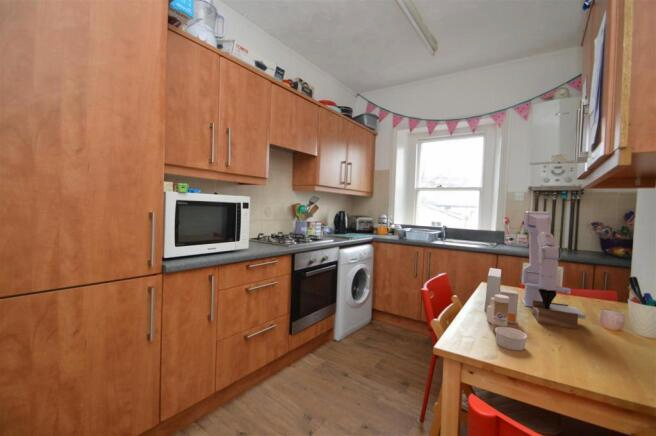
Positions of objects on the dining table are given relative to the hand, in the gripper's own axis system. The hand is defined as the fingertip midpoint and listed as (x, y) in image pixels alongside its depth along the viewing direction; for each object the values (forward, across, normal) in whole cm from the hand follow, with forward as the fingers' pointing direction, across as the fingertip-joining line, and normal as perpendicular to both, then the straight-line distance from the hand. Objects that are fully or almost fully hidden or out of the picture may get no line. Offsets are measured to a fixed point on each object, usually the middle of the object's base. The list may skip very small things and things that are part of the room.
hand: (546, 308), depth 118 cm
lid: (+1, +6, 0) cm, 6 cm away
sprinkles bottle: (+5, -18, -25) cm, 31 cm away
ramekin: (+5, -16, -34) cm, 38 cm away
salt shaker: (+5, -20, -15) cm, 25 cm away
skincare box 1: (+5, -18, +9) cm, 21 cm away
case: (+5, +2, 0) cm, 5 cm away
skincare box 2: (+5, -14, -10) cm, 18 cm away
